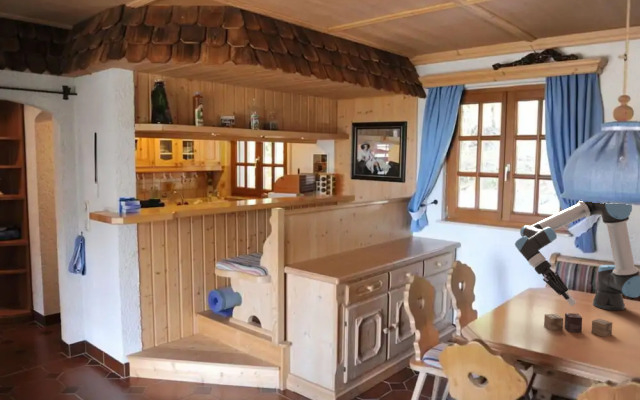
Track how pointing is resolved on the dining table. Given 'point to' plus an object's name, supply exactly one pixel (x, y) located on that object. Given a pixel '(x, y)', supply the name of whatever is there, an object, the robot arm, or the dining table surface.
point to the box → (573, 322)
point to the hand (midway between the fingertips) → (573, 304)
